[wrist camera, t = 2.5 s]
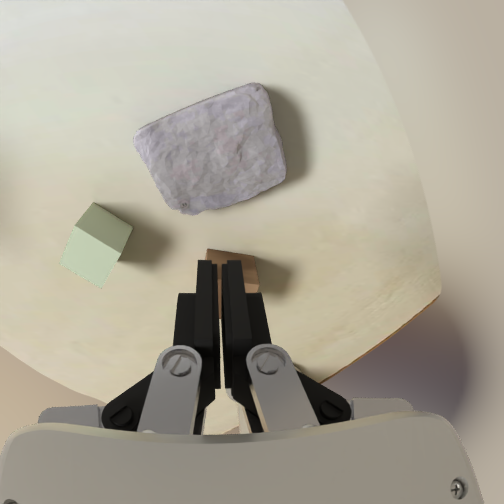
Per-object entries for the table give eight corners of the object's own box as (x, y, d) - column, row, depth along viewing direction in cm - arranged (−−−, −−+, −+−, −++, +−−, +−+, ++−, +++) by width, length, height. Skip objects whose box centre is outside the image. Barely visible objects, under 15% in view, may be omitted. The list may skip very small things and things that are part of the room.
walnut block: (253, 255, 33) (259, 284, 28) (242, 291, 35) (246, 321, 31) (207, 248, 32) (206, 277, 27) (199, 285, 34) (198, 316, 30)
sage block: (133, 226, 29) (121, 253, 25) (113, 259, 31) (101, 288, 27) (93, 202, 27) (74, 225, 23) (76, 237, 29) (59, 263, 25)
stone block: (288, 162, 29) (256, 70, 22) (301, 187, 26) (267, 81, 19) (179, 202, 31) (132, 123, 24) (177, 233, 28) (120, 144, 21)
